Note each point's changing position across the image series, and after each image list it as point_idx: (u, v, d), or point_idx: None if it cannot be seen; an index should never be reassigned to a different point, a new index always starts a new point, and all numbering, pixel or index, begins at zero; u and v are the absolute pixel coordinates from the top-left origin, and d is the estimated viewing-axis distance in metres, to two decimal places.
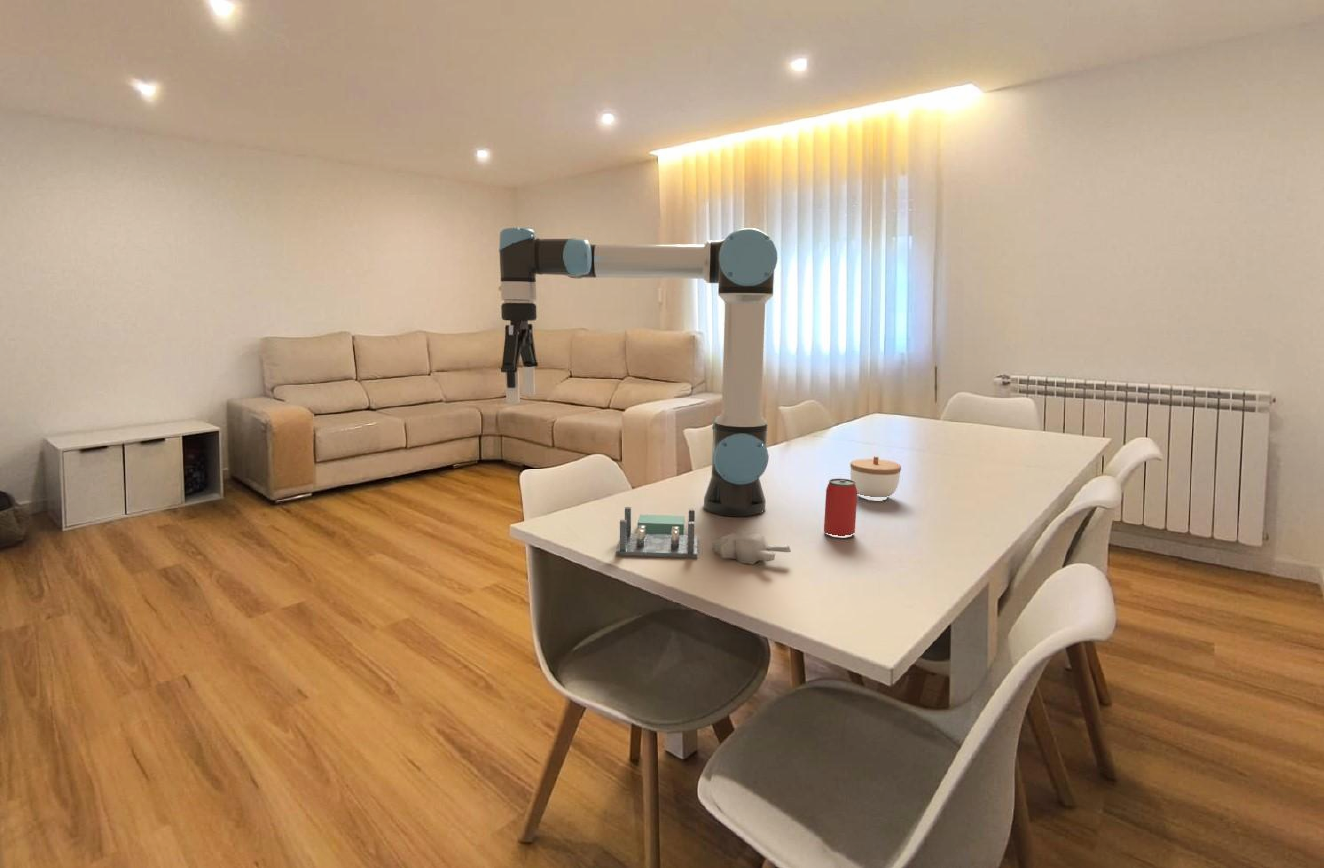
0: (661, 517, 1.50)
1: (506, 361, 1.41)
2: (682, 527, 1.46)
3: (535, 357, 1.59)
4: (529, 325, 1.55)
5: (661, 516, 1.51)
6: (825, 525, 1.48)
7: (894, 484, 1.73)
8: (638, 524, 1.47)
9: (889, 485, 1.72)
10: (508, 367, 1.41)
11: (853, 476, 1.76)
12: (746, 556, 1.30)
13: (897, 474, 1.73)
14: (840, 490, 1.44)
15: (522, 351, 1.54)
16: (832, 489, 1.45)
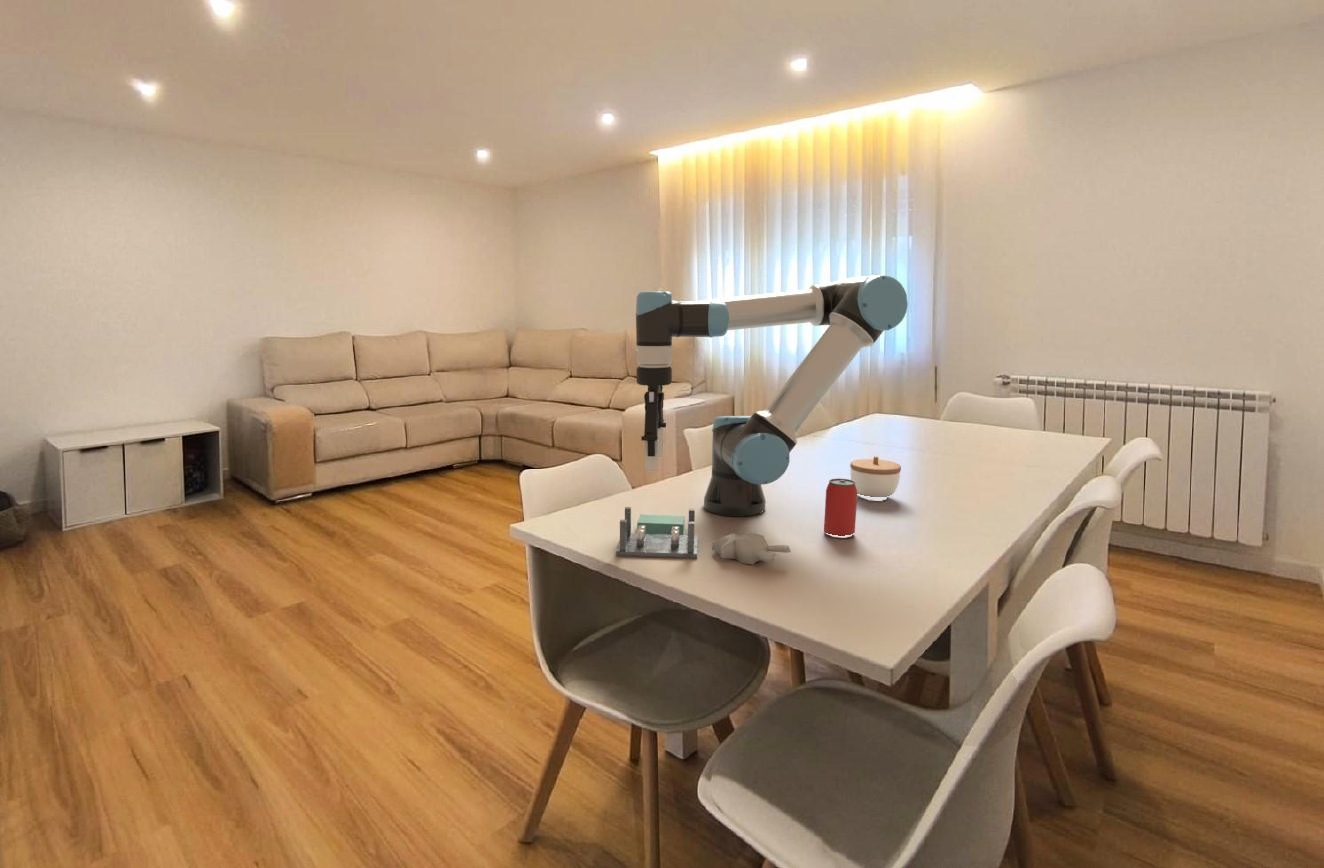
0: (661, 517, 1.50)
1: (649, 430, 1.37)
2: (682, 527, 1.46)
3: (662, 417, 1.55)
4: (660, 386, 1.50)
5: (661, 516, 1.51)
6: (825, 525, 1.48)
7: (894, 484, 1.73)
8: (638, 524, 1.47)
9: (889, 485, 1.72)
10: (651, 436, 1.36)
11: (853, 476, 1.76)
12: (746, 557, 1.30)
13: (897, 474, 1.73)
14: (840, 490, 1.44)
15: None
16: (832, 489, 1.45)
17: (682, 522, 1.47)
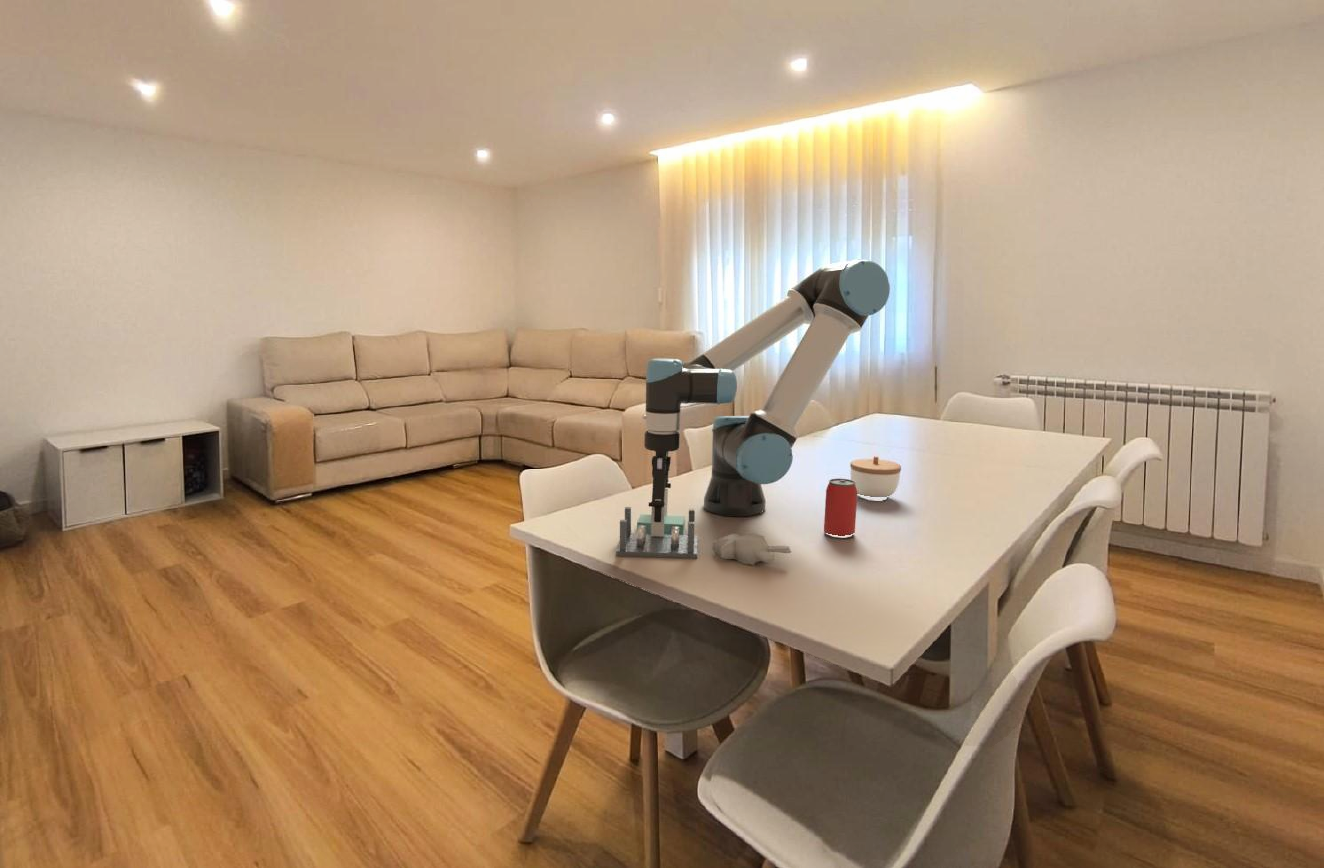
0: None
1: (656, 497, 1.39)
2: (681, 527, 1.46)
3: None
4: None
5: None
6: (825, 525, 1.48)
7: (894, 484, 1.73)
8: (638, 524, 1.47)
9: (889, 485, 1.72)
10: (658, 504, 1.38)
11: (853, 476, 1.76)
12: (746, 557, 1.30)
13: (897, 474, 1.73)
14: (840, 490, 1.44)
15: None
16: (832, 489, 1.45)
17: (682, 522, 1.47)
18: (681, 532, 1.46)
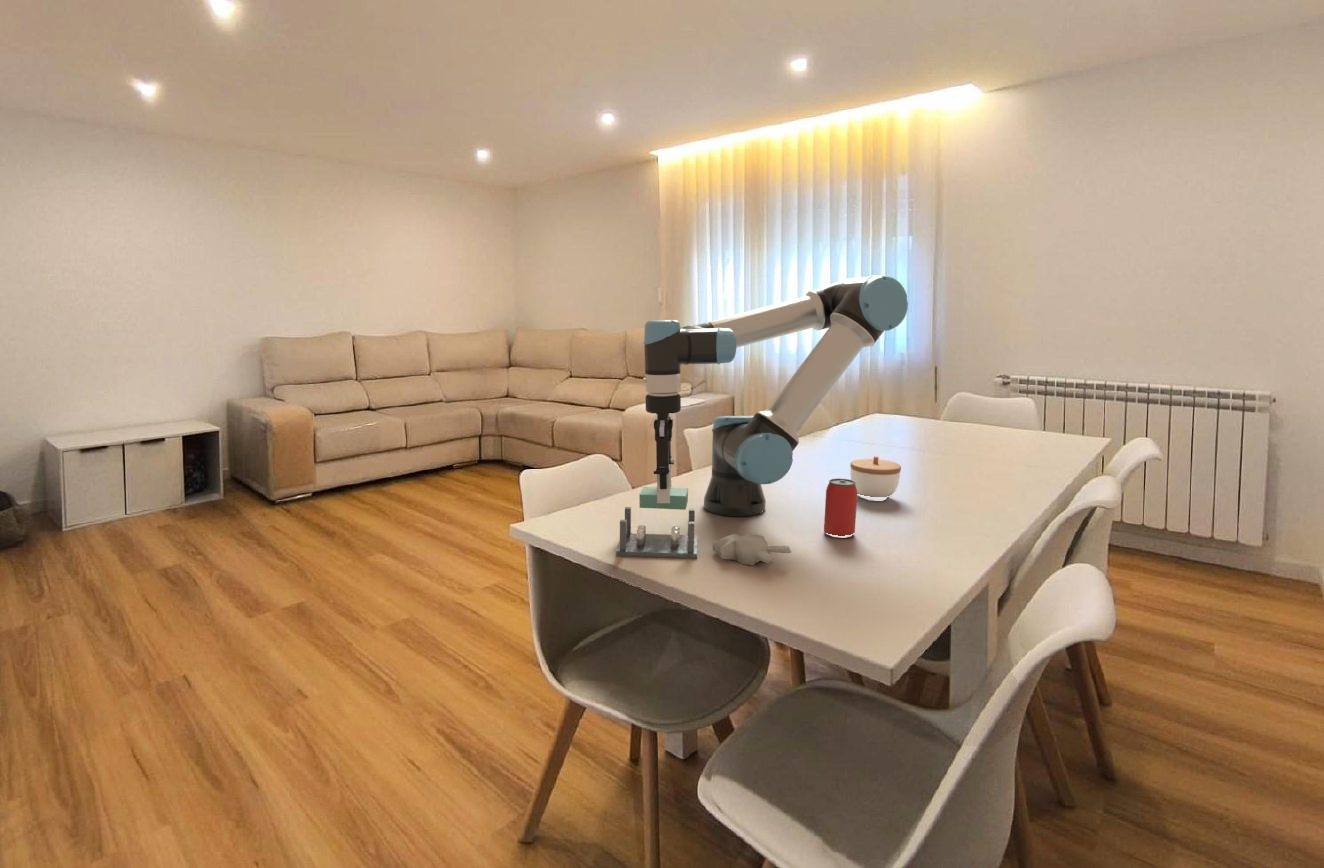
0: None
1: (661, 465, 1.40)
2: (684, 499, 1.45)
3: (670, 453, 1.53)
4: (668, 417, 1.51)
5: None
6: (825, 525, 1.48)
7: (894, 484, 1.73)
8: (640, 496, 1.46)
9: (889, 485, 1.72)
10: (663, 471, 1.41)
11: (853, 476, 1.76)
12: (746, 557, 1.30)
13: (897, 474, 1.73)
14: (840, 490, 1.44)
15: None
16: (832, 489, 1.45)
17: (685, 494, 1.46)
18: (684, 504, 1.45)
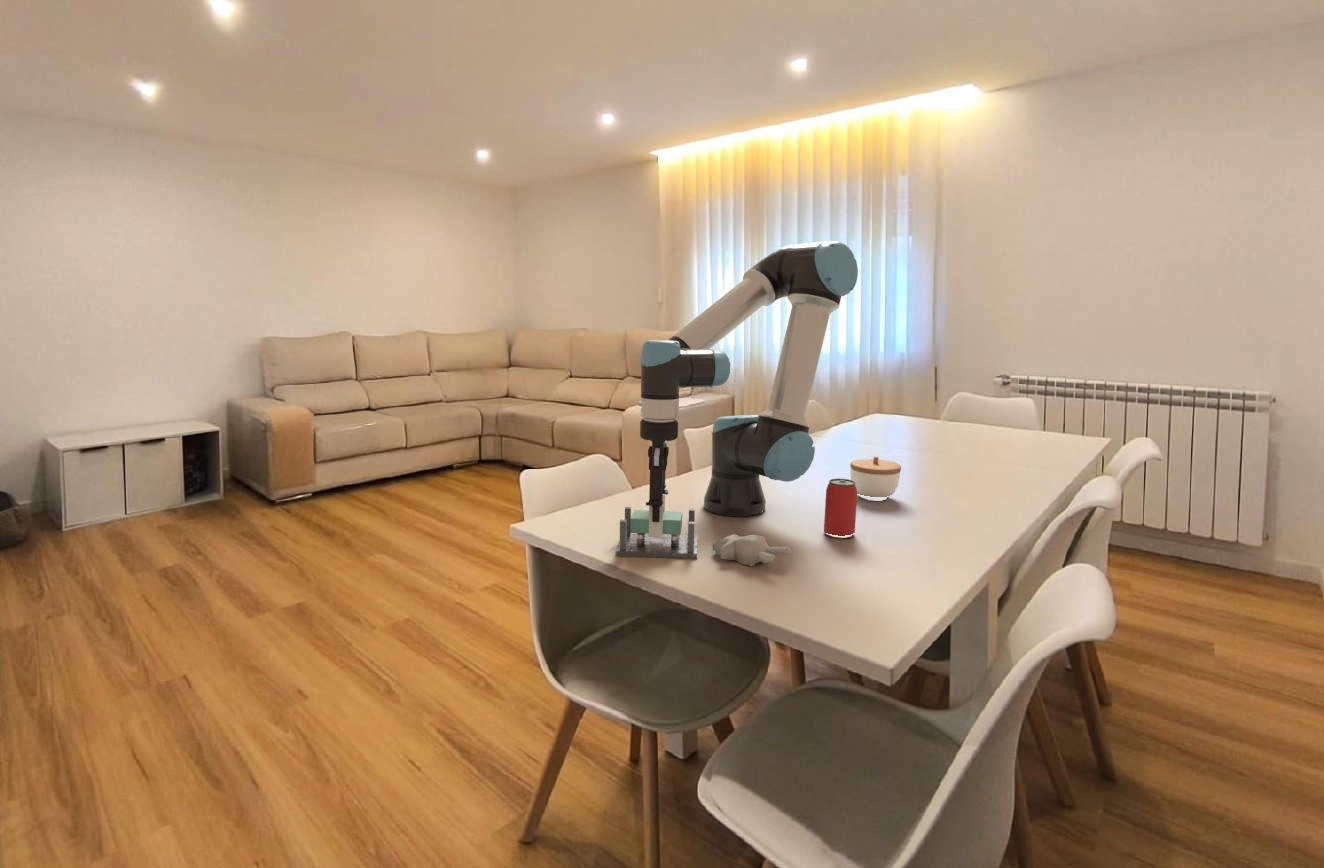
0: None
1: (654, 497, 1.30)
2: (679, 524, 1.35)
3: None
4: (664, 444, 1.41)
5: None
6: (825, 525, 1.48)
7: (894, 484, 1.73)
8: (631, 520, 1.35)
9: (889, 485, 1.72)
10: (656, 503, 1.30)
11: (853, 476, 1.76)
12: (746, 558, 1.30)
13: (897, 474, 1.73)
14: (840, 490, 1.44)
15: None
16: (832, 489, 1.45)
17: (679, 518, 1.36)
18: (678, 529, 1.35)
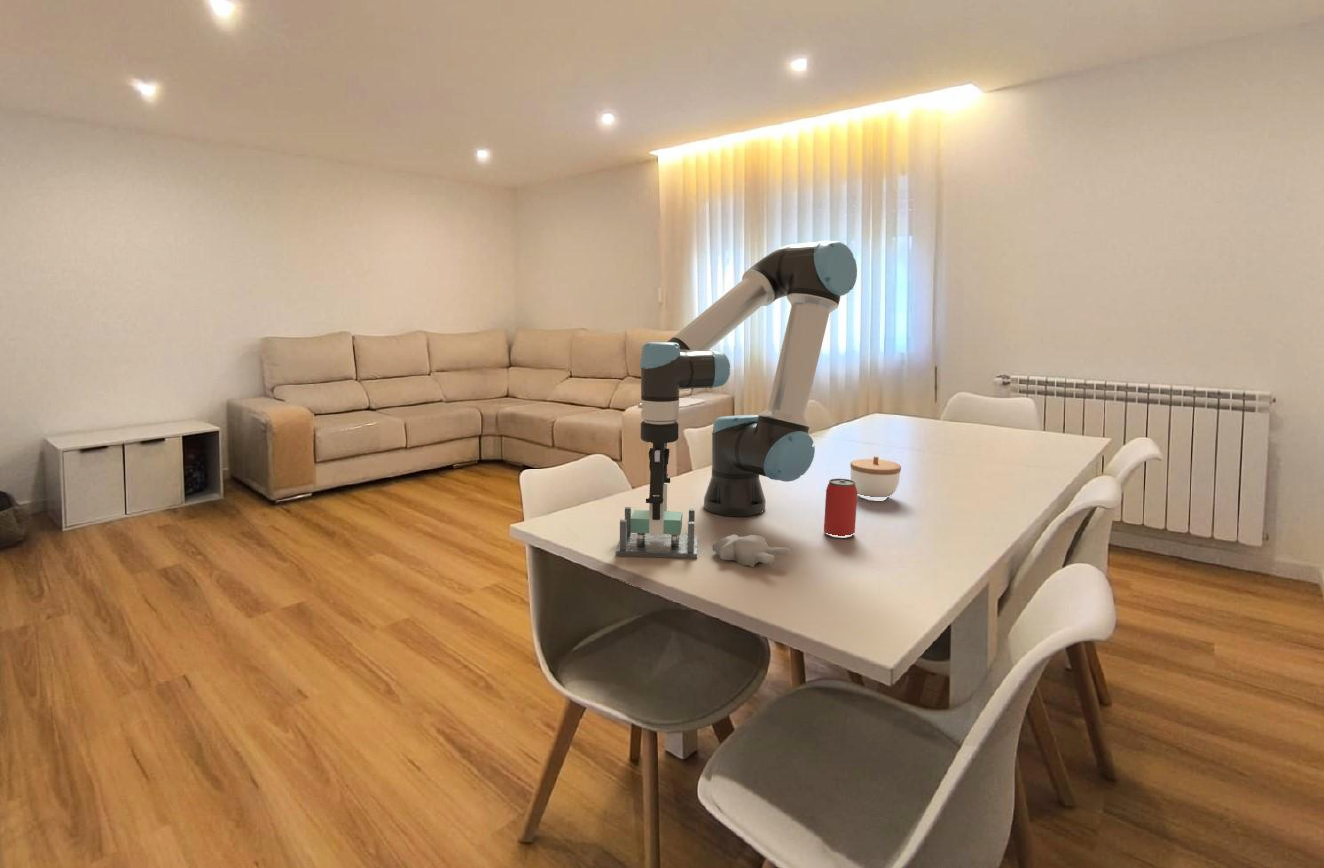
0: None
1: (654, 493, 1.27)
2: (679, 524, 1.35)
3: None
4: None
5: None
6: (825, 525, 1.48)
7: (894, 484, 1.73)
8: (631, 520, 1.35)
9: (889, 485, 1.72)
10: (656, 500, 1.27)
11: (853, 476, 1.76)
12: (746, 558, 1.29)
13: (897, 474, 1.73)
14: (840, 490, 1.44)
15: None
16: (832, 489, 1.45)
17: (679, 518, 1.36)
18: (678, 529, 1.35)
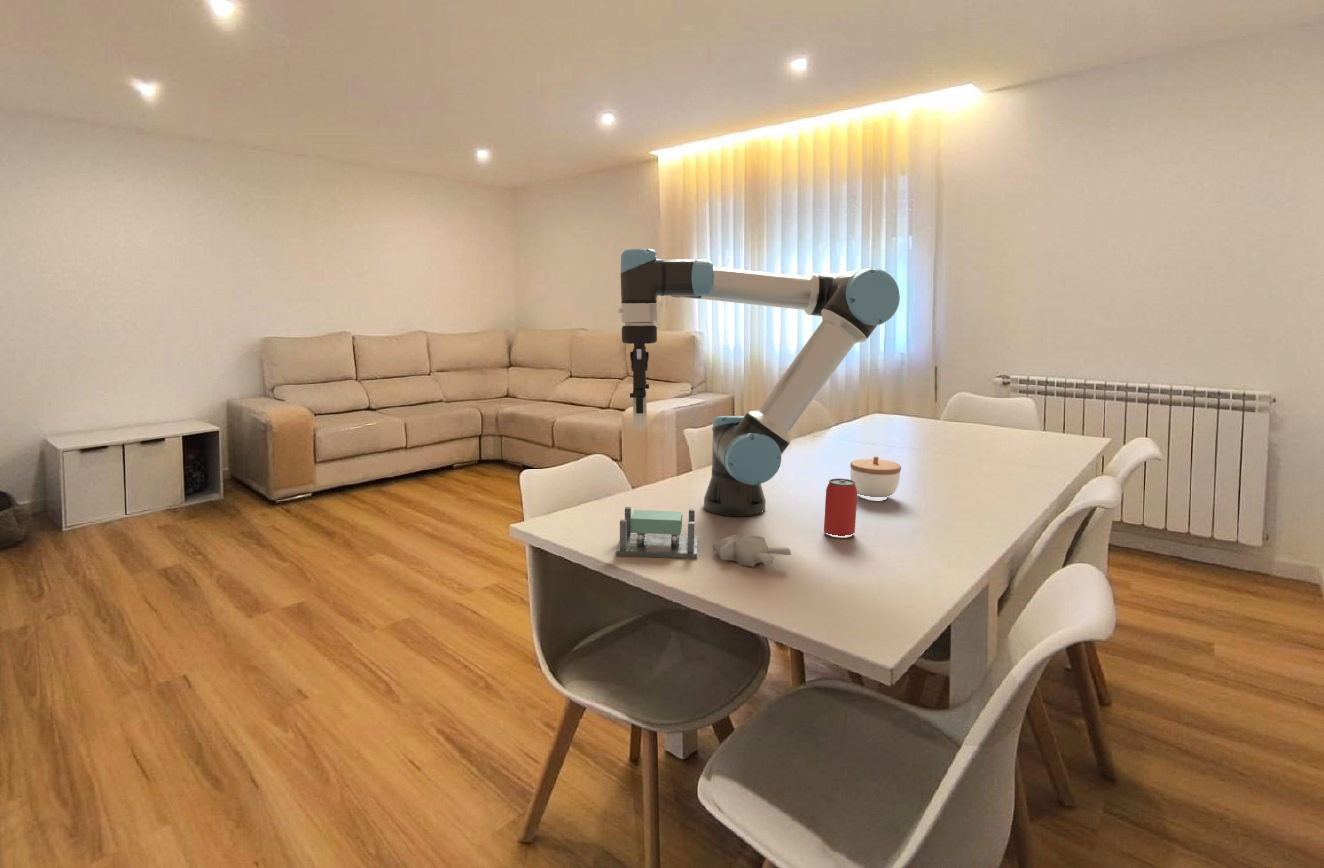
0: (657, 513, 1.39)
1: (637, 386, 1.37)
2: (679, 524, 1.35)
3: None
4: None
5: (657, 512, 1.40)
6: (825, 525, 1.48)
7: (894, 484, 1.73)
8: (631, 520, 1.35)
9: (889, 485, 1.72)
10: (640, 392, 1.37)
11: (853, 476, 1.76)
12: (746, 558, 1.29)
13: (897, 474, 1.73)
14: (840, 490, 1.44)
15: None
16: (832, 489, 1.45)
17: (679, 518, 1.36)
18: (678, 529, 1.35)
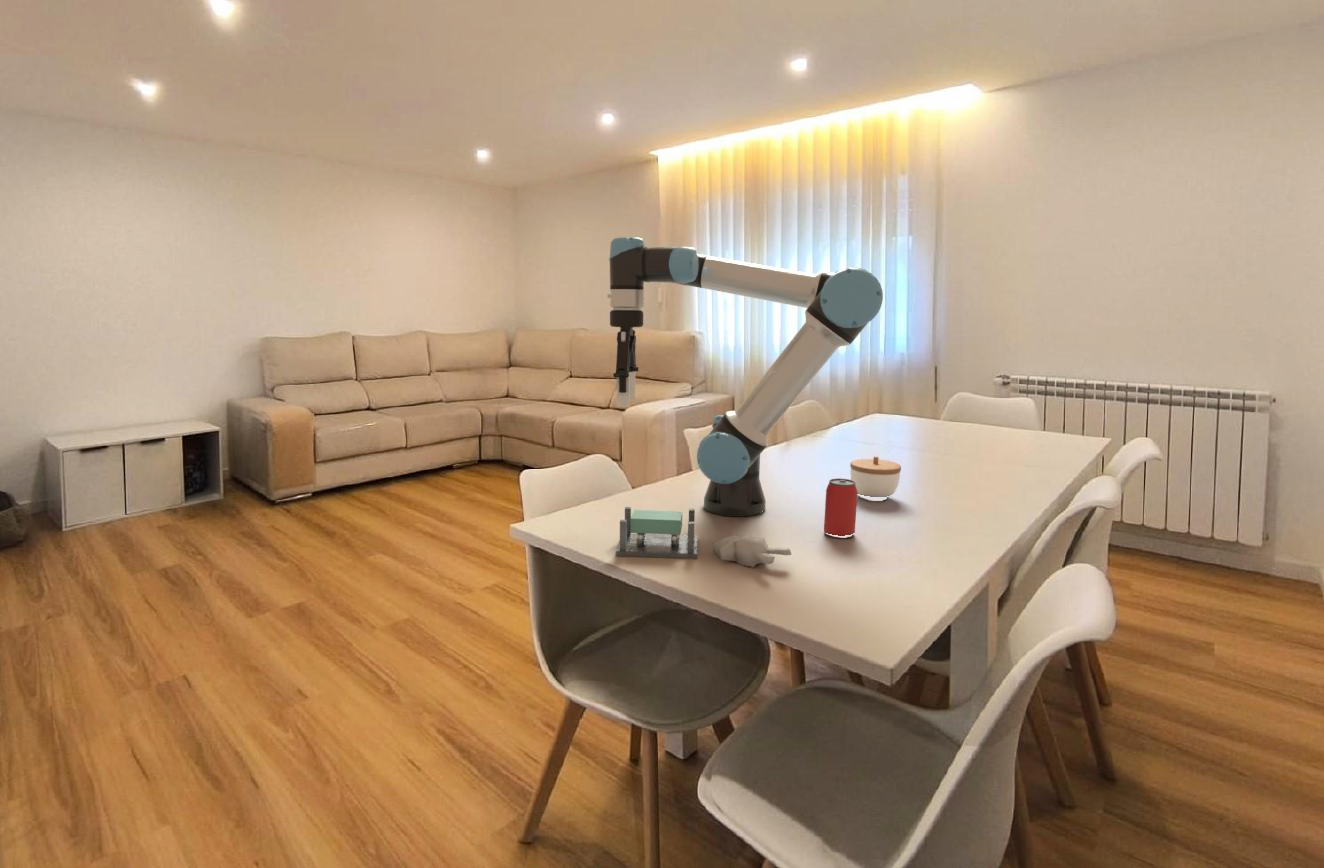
0: (657, 513, 1.39)
1: (620, 366, 1.45)
2: (679, 524, 1.35)
3: (635, 362, 1.64)
4: (632, 331, 1.59)
5: (657, 512, 1.40)
6: (825, 525, 1.48)
7: (894, 484, 1.73)
8: (631, 520, 1.35)
9: (889, 485, 1.72)
10: (622, 372, 1.45)
11: (853, 476, 1.76)
12: (746, 559, 1.29)
13: (897, 474, 1.73)
14: (840, 490, 1.44)
15: None
16: (832, 489, 1.45)
17: (679, 518, 1.36)
18: (678, 529, 1.35)
